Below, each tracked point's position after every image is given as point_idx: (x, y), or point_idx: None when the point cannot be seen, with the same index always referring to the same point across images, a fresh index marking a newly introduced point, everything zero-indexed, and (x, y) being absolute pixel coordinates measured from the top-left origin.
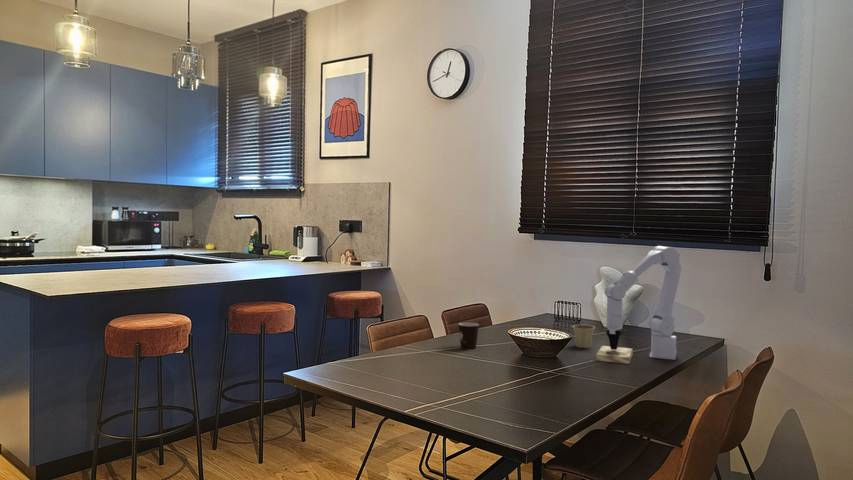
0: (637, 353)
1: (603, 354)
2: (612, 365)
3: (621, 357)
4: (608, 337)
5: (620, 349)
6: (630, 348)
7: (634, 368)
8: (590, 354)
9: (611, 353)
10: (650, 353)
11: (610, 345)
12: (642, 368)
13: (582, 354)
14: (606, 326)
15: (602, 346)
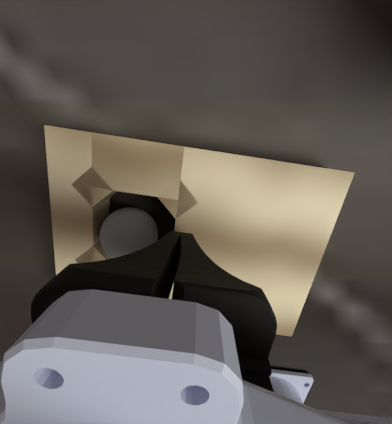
0: (307, 329)
1: (63, 174)
2: (4, 213)
3: (58, 270)
4: (116, 257)
5: (253, 279)
6: (292, 326)
7: (5, 297)
8: (227, 91)
9: (102, 225)
10: (287, 376)
11: (162, 238)
12: (24, 323)
13: (212, 27)
14: (8, 399)
15: (327, 174)
